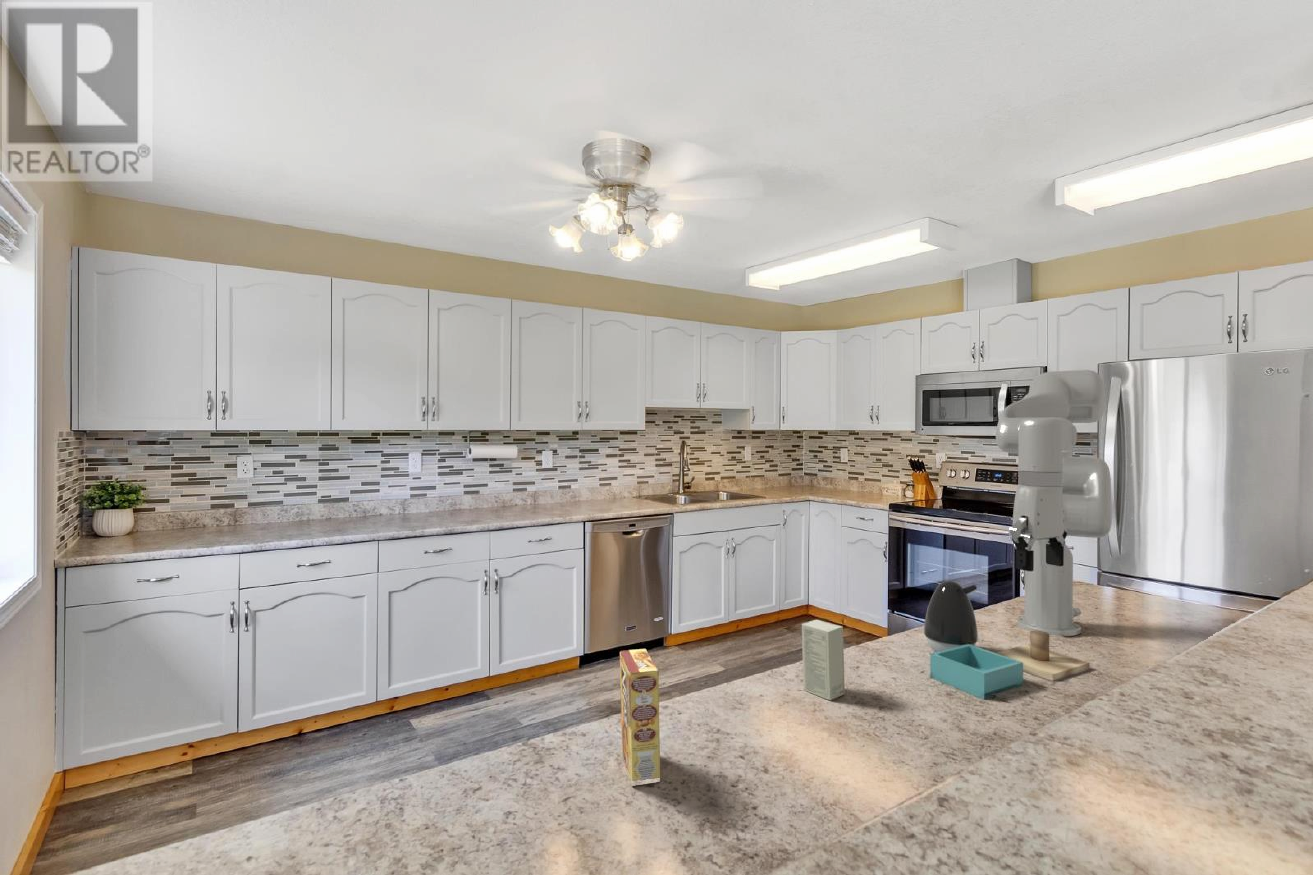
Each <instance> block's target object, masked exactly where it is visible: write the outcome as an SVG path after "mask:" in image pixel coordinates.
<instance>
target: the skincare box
mask: <svg viewBox="0 0 1313 875" xmlns="http://www.w3.org/2000/svg"><path fill="white" fill-rule="evenodd" d="M843 628H844V627H843V625H842V626H841V625H838V624H834V623H831V622H826V621H823V620H820V619H813V620H810V621H807V622H803V623H801V638H802V639H801V644H802V645H801V646H802V648H801V650H802V675H803V676H802V677H803V680H802V681H803V686H802V687H803V690H804V691H806V692H808V693H810V694H813V695H815V696H818V697H820V698H823V699H826V700H827V701H832V700H835V699H837V698H839V697H842V696H843V695H845V694H846V691H845V689H846V688H845V684H846V683H845V656H844V655H845V654H844V653H845V652H844V629H843Z"/></svg>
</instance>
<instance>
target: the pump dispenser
mask: <svg viewBox="0 0 1313 875" xmlns="http://www.w3.org/2000/svg"><path fill="white" fill-rule="evenodd" d="M976 590H977V585H975V584H973V585H972V584H971V585H968V586H965V587H963V586H962V585H961V584H960V583H958V582H956V581H953V580H946V581H942V582H940V583H939V584H938V585H937V587H936V588H935V590H934V592H933V594H932V596H931V598H930V601H929V603H928V606H927V610H926V614H925V619H924V626H923V634H924V636H925V638H926V642H927V644H928V645H929V647H930V648H931V649H932V650H933V651H934V653H935V652H939V651H943V650H947V649H951V648H955V647H959V646H963V645H967V644H970V645H973V646H976V643H977V642H978V640H979V634H978V633H979V632H978V631H979V630H978V625H977V619H976V615H975V611H974V608H973V605H972V602H971V600H970V598H969V596H968V595H969V594H971V593H972V592H974V591H976Z"/></svg>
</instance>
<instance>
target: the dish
mask: <svg viewBox="0 0 1313 875" xmlns="http://www.w3.org/2000/svg"><path fill="white" fill-rule="evenodd" d="M929 655H930V656H929V657H930V658H929V660H930V662H929V663H930V664H929V665H930V668H929V671H930V672H929V673H930V678H931V679H934V680H936V681H938V682H941V683H944V684H945V685H948V686H951V687H953V688H955V689H958V690H960V691H962V692H965V693H967V694H969V695H973V696H975V697H976V698H980V699H982V700H987V699H990V698H993V697H995V696H996V694H999V693H1003V692H1005V691H1009V690H1012V689H1015V688H1018V687H1021V686H1024V672H1023V662H1020V661H1017V660H1014V659H1011V658H1008V657H1005V656H1003V655H1000V654H997V652H993V651H990V650H988V649H984V648H981V647H979V646H976V645H975V646H973V645H970V644H967V645H963V646H959V647H955V648H951V649H947V650H943V651H939V652H935V651H934V652H932V653H929Z"/></svg>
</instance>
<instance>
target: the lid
mask: <svg viewBox="0 0 1313 875" xmlns="http://www.w3.org/2000/svg"><path fill="white" fill-rule="evenodd" d="M1029 632H1030V633H1029V634H1030V643H1028V644H1027V643H1026V644H1023V645H1020V646H1015V647H1012V648H1008V649H1004V650H1001V651H997V652H996V653H997V654H1000V655H1003V656H1005V657H1008V658H1011V659H1014V660H1017V661H1020V662H1023V671H1026V672H1029V673H1031V674H1034V675H1037V676H1040V677H1043V678H1046V679H1049V680H1052V681H1054V680H1057V679H1060V678H1063V677H1066V676H1069V675H1072V674H1076V673H1079V672H1082V671H1085V670H1088V669H1090V668H1091V665H1090V664H1091V663H1090V662H1088V661H1085V660H1082V659H1078V658H1075V657H1073V656H1068V655H1066V654H1062V653H1060V652H1059V653H1058V652H1055V651H1053V650H1050V635H1049V633H1047V632H1044V631H1037V630H1033V631H1030V630H1029ZM1031 674H1030V675H1031Z"/></svg>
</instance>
